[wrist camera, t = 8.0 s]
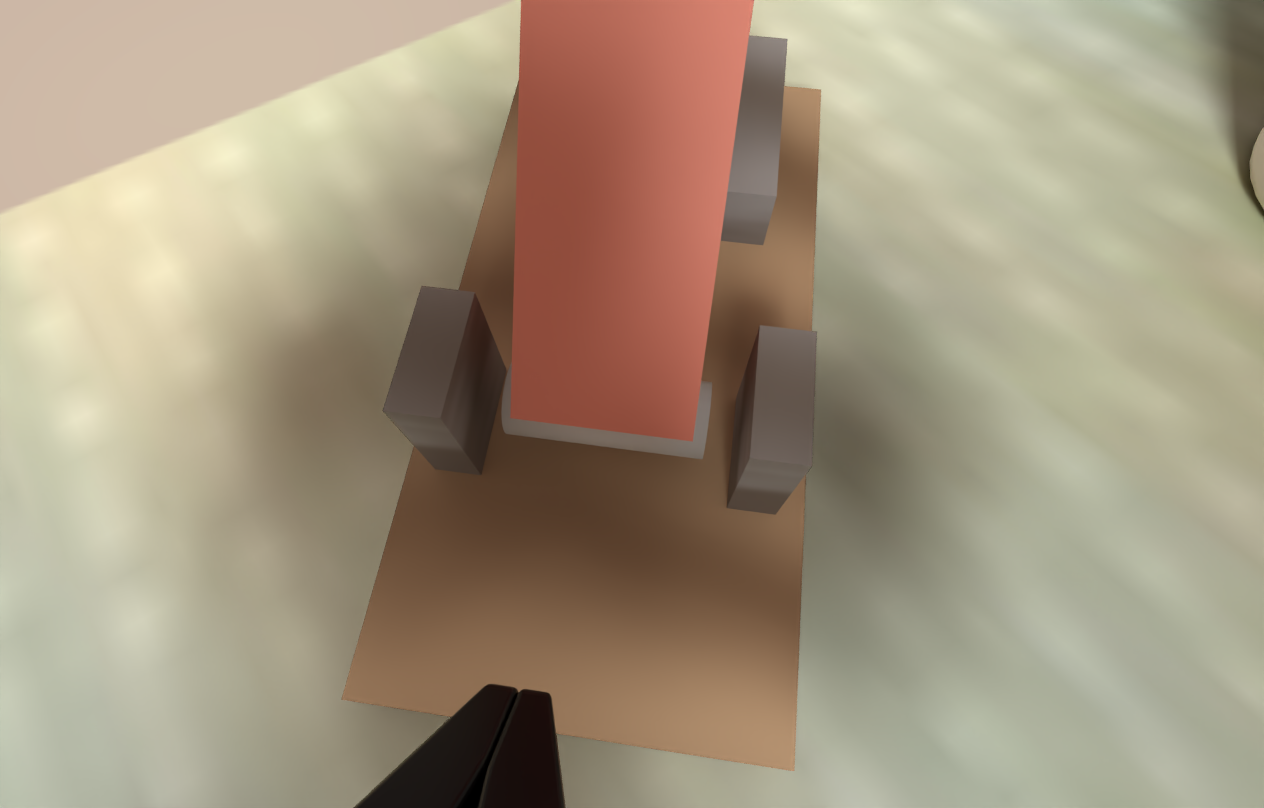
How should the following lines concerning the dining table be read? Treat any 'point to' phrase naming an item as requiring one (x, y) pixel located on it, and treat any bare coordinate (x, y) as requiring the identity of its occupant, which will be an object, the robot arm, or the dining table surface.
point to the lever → (620, 217)
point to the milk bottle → (1258, 168)
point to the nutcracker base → (615, 492)
